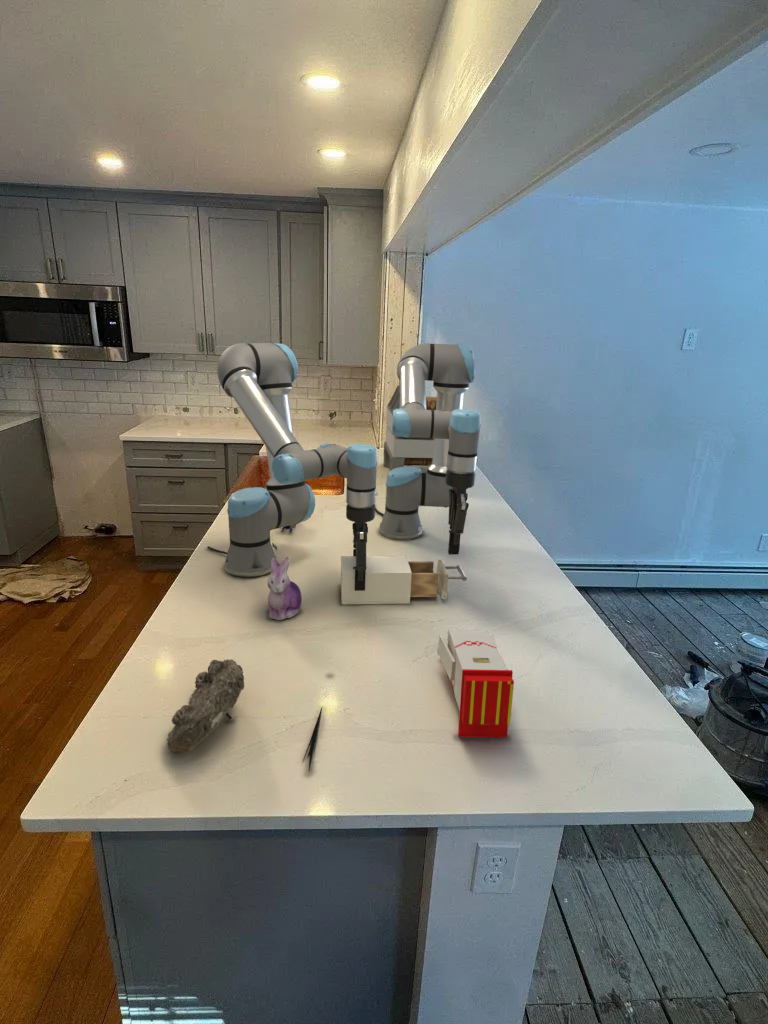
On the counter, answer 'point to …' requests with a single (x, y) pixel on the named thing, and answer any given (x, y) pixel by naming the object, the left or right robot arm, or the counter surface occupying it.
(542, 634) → the counter surface
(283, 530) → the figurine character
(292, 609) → the figurine
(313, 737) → the feather
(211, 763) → the counter surface
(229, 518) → the left robot arm
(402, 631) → the counter surface
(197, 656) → the counter surface
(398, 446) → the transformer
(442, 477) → the right robot arm
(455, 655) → the toy
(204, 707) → the fossil
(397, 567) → the cabinet
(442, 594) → the drawer
